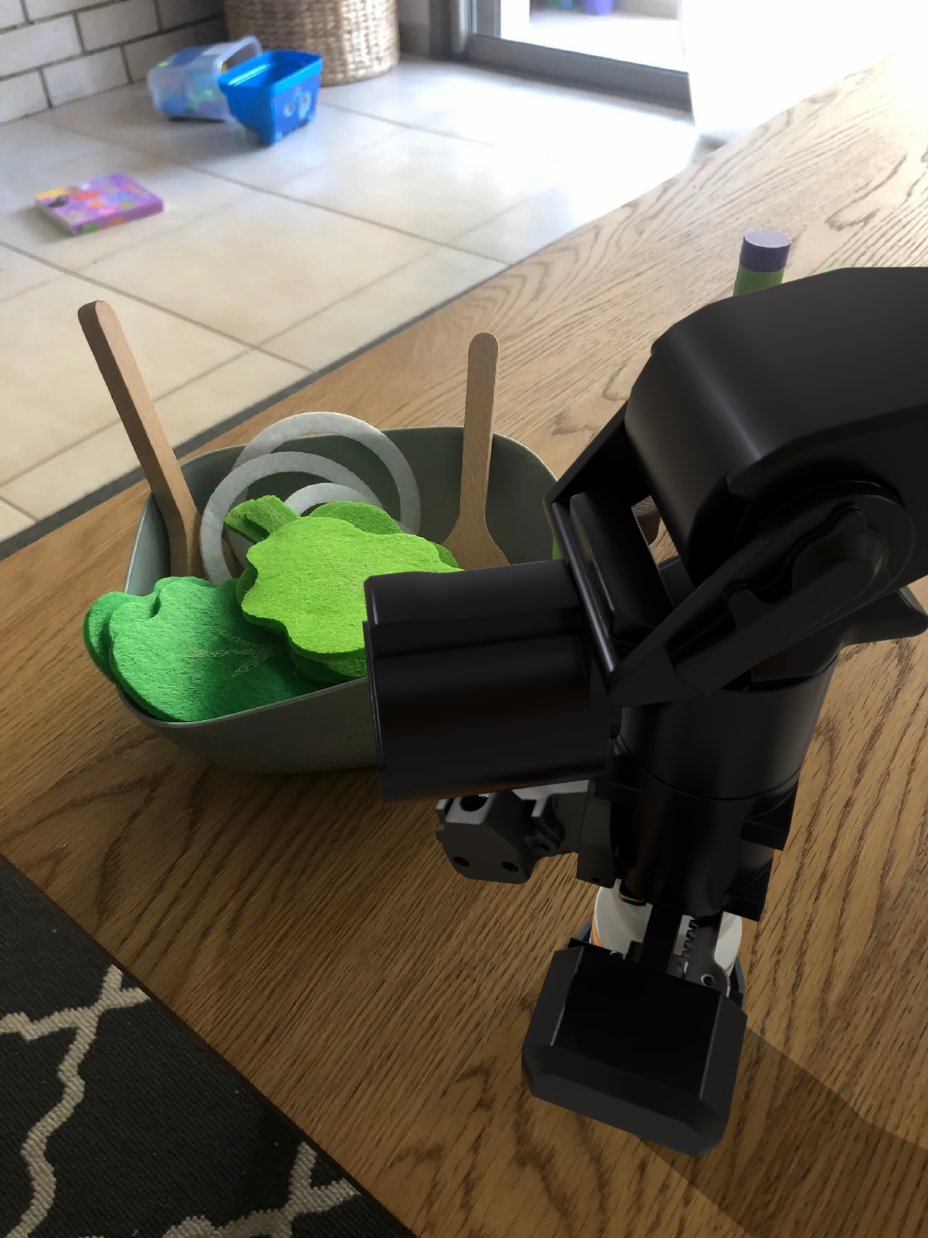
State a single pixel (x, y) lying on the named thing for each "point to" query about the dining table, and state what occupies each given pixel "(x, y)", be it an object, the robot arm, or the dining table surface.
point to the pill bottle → (629, 923)
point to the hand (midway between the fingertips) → (658, 968)
